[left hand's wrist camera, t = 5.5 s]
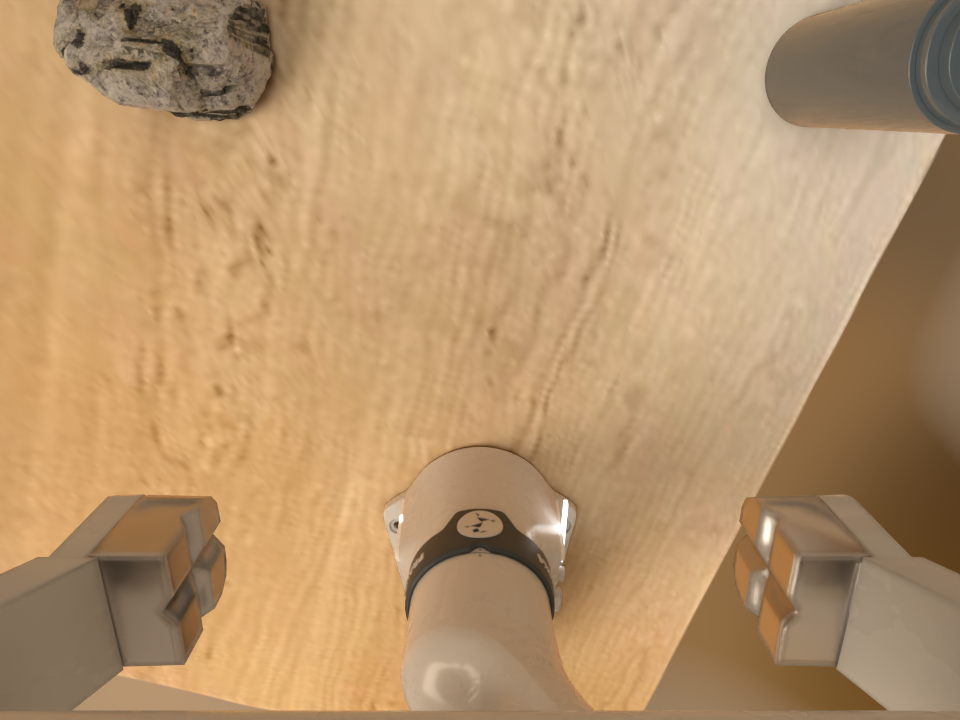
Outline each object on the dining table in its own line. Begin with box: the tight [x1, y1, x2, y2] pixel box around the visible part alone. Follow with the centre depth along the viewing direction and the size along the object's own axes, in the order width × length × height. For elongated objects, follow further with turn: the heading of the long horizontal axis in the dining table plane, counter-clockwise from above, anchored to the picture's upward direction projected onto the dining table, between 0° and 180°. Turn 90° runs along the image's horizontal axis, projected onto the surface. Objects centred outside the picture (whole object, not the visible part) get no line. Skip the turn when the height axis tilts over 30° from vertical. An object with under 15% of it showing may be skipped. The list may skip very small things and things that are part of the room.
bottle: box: [765, 0, 960, 134], centre depth 41 cm, size 8×8×25 cm
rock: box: [53, 0, 274, 121], centre depth 48 cm, size 15×10×7 cm
